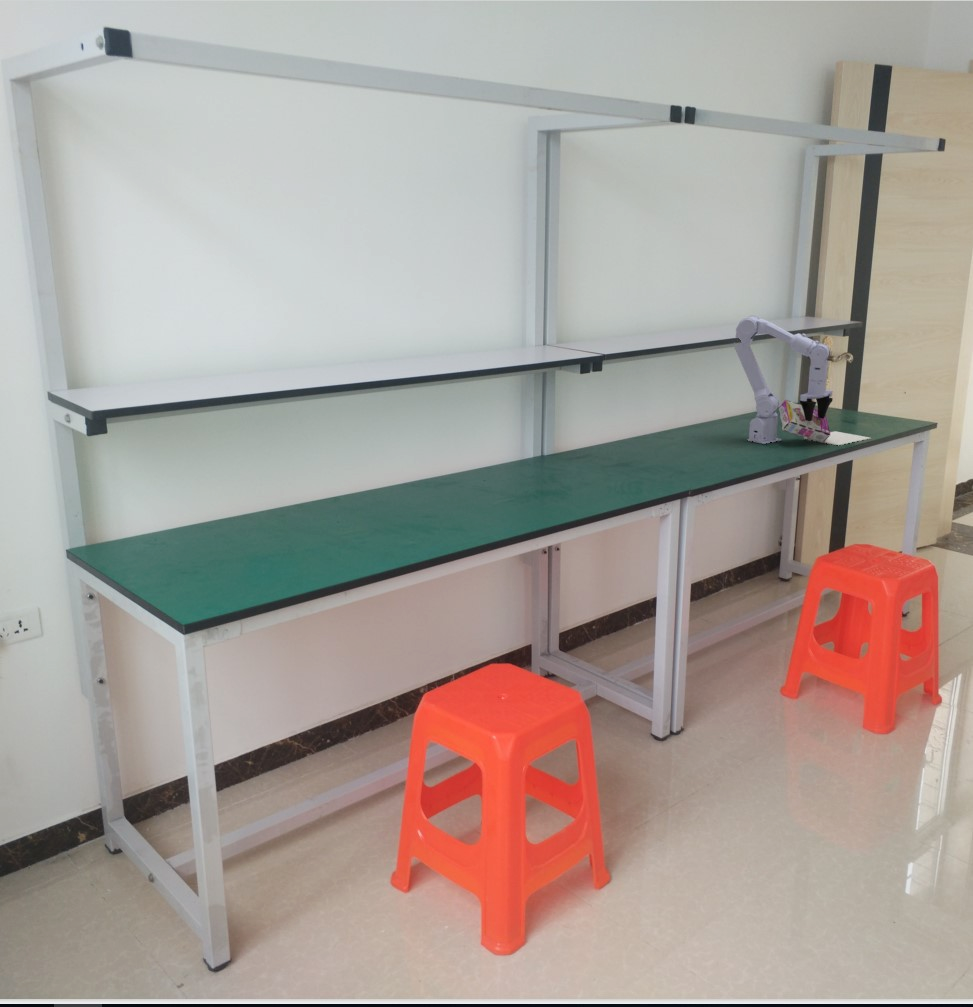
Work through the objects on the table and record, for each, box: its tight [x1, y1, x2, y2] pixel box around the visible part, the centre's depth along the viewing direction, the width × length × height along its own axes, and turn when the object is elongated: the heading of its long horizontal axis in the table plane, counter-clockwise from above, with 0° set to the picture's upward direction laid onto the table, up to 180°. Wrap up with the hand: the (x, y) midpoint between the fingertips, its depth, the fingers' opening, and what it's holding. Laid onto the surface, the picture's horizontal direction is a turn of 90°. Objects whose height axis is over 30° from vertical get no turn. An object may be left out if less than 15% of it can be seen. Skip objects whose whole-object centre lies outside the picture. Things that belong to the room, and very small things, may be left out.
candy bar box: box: [777, 399, 831, 444], centre depth 337 cm, size 11×5×16 cm
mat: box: [803, 430, 872, 447], centre depth 343 cm, size 18×15×1 cm
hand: (814, 419), depth 334 cm, fingers open, 6 cm apart
